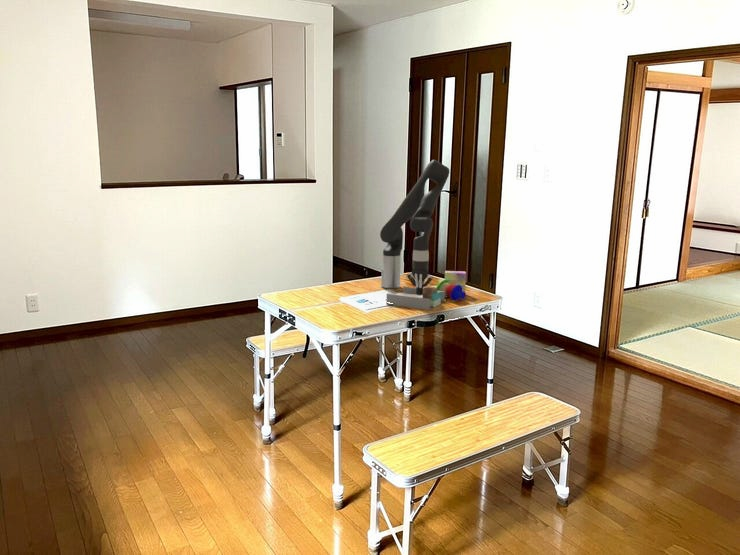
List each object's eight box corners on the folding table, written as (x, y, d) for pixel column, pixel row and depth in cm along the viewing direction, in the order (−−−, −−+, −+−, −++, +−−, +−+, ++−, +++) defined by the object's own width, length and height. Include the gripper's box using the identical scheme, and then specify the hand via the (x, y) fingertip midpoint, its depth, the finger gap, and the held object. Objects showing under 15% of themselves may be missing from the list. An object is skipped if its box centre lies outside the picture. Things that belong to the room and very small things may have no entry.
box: (464, 293, 317) (465, 270, 314) (465, 296, 311) (466, 273, 309) (444, 293, 318) (444, 270, 315) (444, 295, 312) (445, 272, 310)
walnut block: (422, 299, 292) (422, 288, 291) (426, 296, 296) (427, 286, 295) (432, 300, 290) (432, 289, 289) (436, 298, 294) (436, 287, 293)
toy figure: (465, 305, 303) (441, 294, 313) (469, 286, 301) (446, 277, 311) (453, 306, 297) (430, 295, 307) (458, 287, 294) (434, 277, 304)
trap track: (386, 304, 295) (386, 291, 293) (403, 296, 310) (404, 284, 309) (429, 310, 284) (429, 297, 283) (444, 301, 300) (445, 289, 298)
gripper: (404, 259, 292) (403, 295, 295) (430, 261, 285) (429, 298, 289) (411, 256, 298) (410, 291, 302) (436, 259, 292) (435, 295, 295)
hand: (419, 295), depth 295 cm, fingers closed
